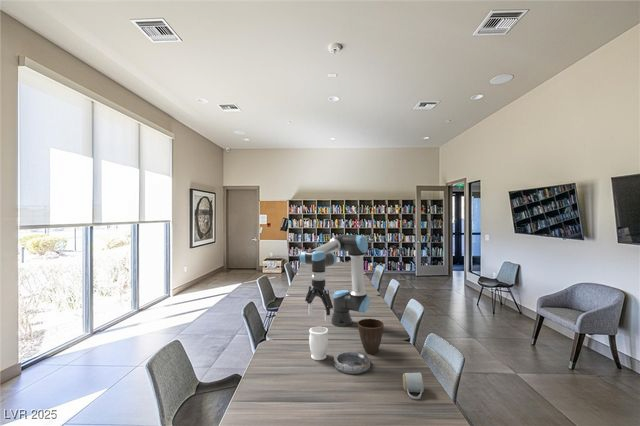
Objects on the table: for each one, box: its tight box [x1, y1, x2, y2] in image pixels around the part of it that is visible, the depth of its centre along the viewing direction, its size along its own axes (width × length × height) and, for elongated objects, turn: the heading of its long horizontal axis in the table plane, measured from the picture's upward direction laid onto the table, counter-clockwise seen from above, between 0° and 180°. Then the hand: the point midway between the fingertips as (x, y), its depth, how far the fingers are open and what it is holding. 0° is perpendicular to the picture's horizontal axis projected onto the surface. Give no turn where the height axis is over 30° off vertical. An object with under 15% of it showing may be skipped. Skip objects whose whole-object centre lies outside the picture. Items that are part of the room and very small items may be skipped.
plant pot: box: [357, 318, 385, 355], centre depth 169 cm, size 15×15×16 cm
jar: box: [308, 326, 329, 361], centre depth 162 cm, size 11×10×15 cm
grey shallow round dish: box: [333, 350, 371, 375], centre depth 153 cm, size 19×19×4 cm
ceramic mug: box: [402, 372, 425, 400], centre depth 129 cm, size 11×8×8 cm
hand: (318, 317), depth 162 cm, fingers open, 13 cm apart
